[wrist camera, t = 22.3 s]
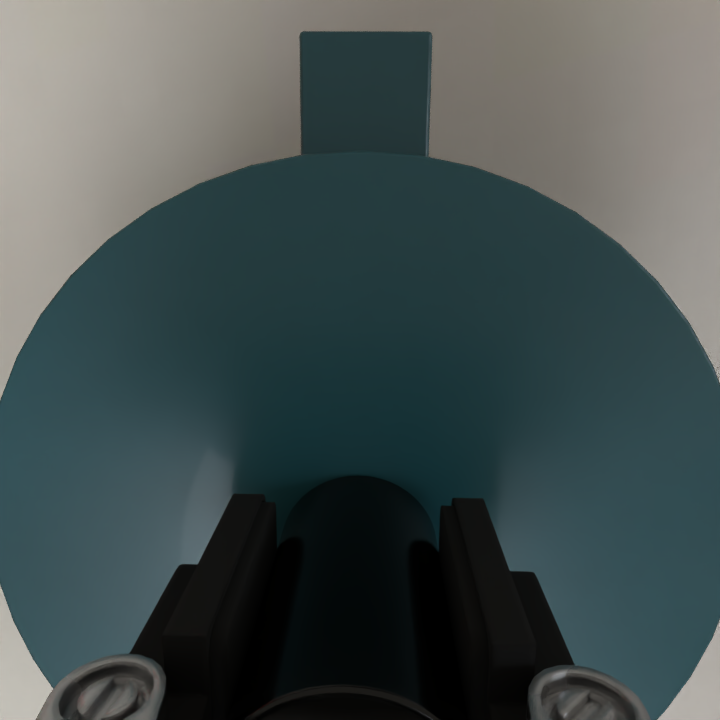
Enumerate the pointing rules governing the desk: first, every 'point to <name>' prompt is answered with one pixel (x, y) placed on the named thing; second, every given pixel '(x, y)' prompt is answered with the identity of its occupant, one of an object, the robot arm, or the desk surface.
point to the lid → (364, 432)
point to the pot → (365, 91)
